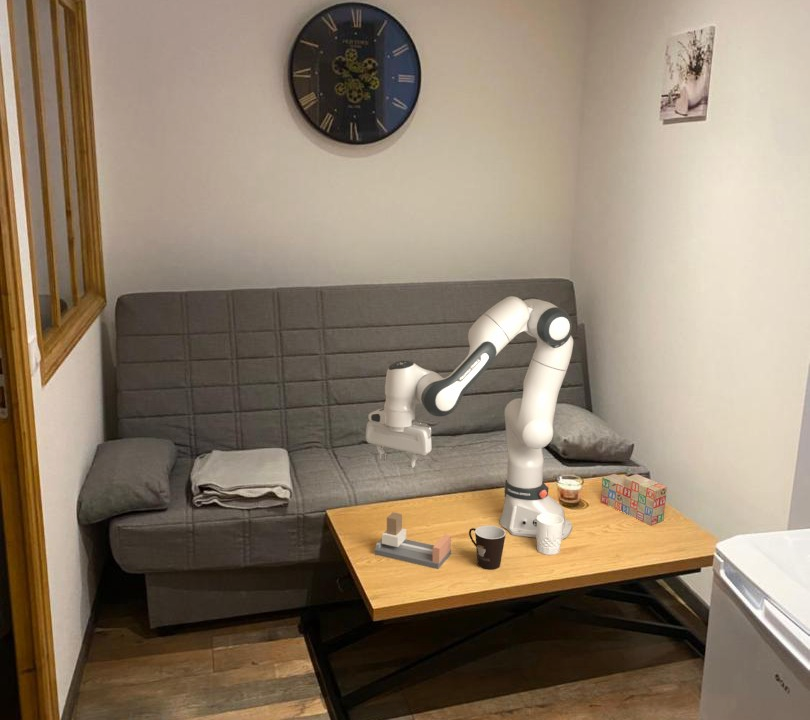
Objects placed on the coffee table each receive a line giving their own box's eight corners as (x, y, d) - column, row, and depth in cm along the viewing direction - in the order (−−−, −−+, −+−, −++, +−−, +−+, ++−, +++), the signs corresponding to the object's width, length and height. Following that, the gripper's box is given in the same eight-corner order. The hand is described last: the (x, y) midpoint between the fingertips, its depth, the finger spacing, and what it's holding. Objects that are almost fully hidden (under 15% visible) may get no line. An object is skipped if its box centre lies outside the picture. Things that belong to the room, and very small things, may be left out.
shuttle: (406, 538, 241) (406, 513, 239) (397, 547, 235) (398, 521, 233) (390, 535, 243) (391, 510, 241) (382, 543, 237) (382, 518, 235)
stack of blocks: (600, 502, 275) (602, 468, 273) (612, 498, 279) (615, 465, 276) (651, 526, 258) (654, 490, 255) (664, 521, 262) (667, 486, 259)
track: (451, 553, 238) (451, 535, 236) (438, 569, 229) (438, 549, 227) (388, 540, 246) (389, 521, 244) (374, 554, 237) (374, 535, 235)
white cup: (532, 553, 239) (534, 521, 237) (537, 542, 246) (539, 511, 244) (559, 558, 236) (561, 526, 234) (563, 546, 244) (566, 515, 241)
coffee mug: (509, 569, 229) (510, 537, 227) (480, 573, 227) (481, 540, 224) (493, 550, 240) (494, 519, 238) (465, 554, 238) (466, 522, 235)
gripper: (436, 421, 231) (434, 467, 234) (374, 408, 240) (373, 452, 243) (426, 427, 225) (423, 474, 229) (363, 413, 235) (362, 458, 238)
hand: (397, 462), depth 236 cm, fingers open, 8 cm apart
